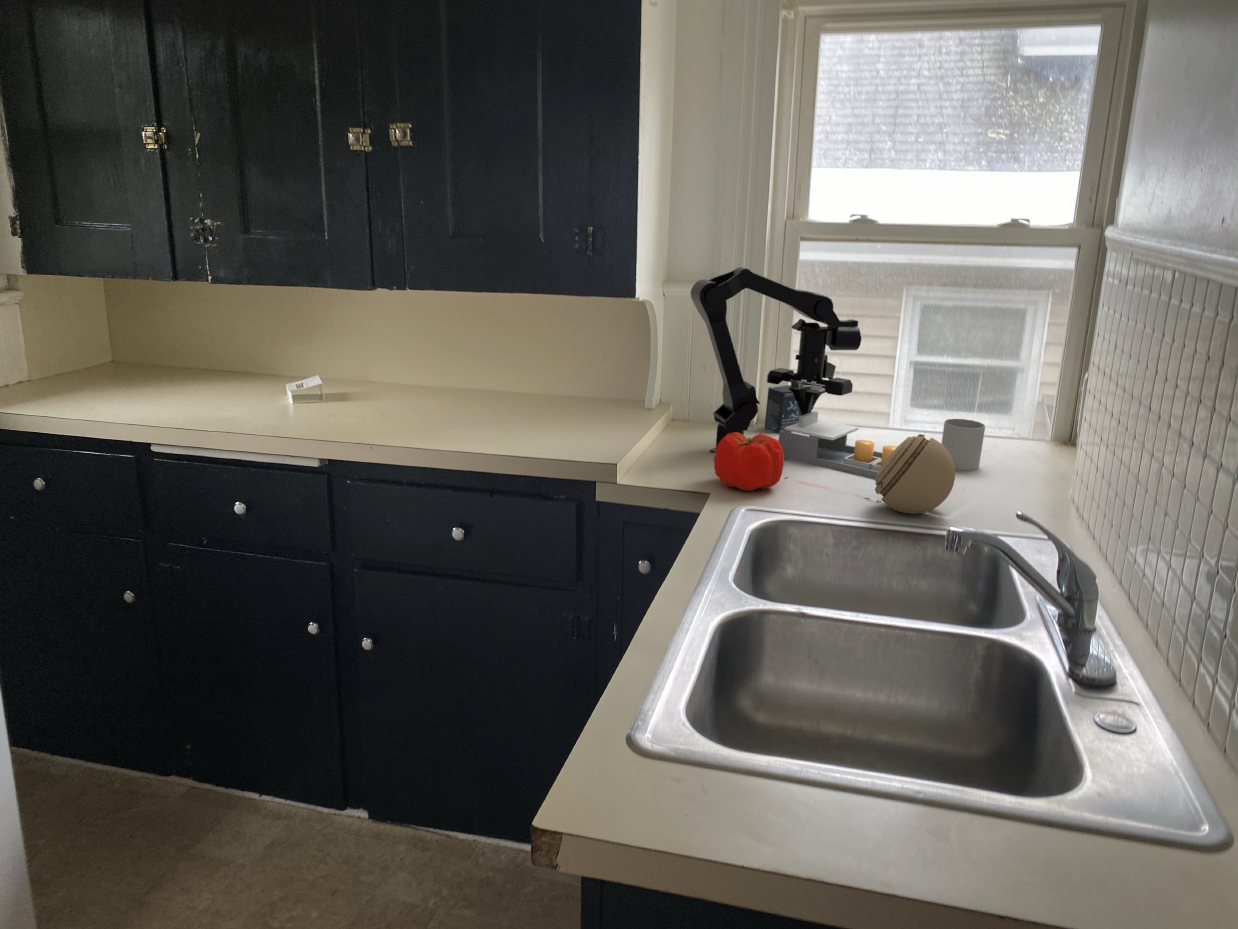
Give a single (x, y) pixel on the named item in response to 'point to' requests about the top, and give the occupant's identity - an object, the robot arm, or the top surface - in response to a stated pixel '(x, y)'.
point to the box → (781, 409)
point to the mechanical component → (916, 476)
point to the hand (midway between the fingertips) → (805, 418)
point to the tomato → (749, 461)
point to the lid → (820, 427)
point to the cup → (963, 442)
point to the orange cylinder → (887, 453)
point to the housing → (827, 453)
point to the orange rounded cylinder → (864, 451)
